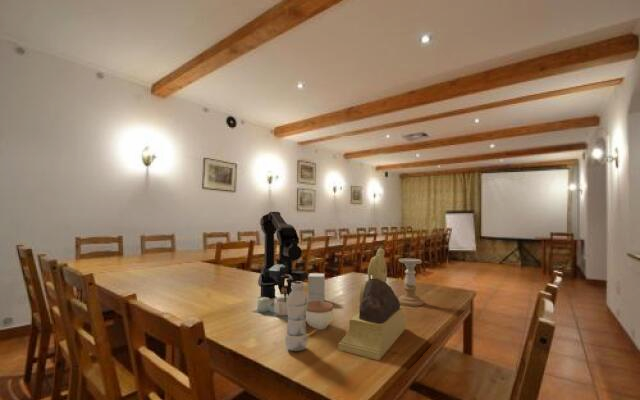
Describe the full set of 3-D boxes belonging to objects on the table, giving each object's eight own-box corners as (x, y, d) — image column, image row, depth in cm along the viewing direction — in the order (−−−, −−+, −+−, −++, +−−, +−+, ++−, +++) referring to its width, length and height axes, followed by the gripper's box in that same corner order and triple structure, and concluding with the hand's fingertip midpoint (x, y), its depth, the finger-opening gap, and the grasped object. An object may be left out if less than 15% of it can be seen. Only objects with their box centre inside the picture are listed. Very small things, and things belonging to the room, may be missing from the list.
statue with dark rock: (371, 322, 117) (372, 244, 118) (405, 329, 110) (405, 246, 112) (338, 350, 93) (339, 250, 94) (378, 360, 86) (379, 254, 87)
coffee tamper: (275, 309, 124) (275, 286, 125) (283, 305, 129) (284, 283, 130) (286, 311, 121) (286, 288, 122) (294, 308, 126) (295, 285, 127)
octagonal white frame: (268, 314, 123) (268, 301, 123) (282, 307, 131) (283, 296, 131) (284, 317, 118) (285, 304, 119) (299, 311, 127) (299, 299, 127)
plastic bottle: (285, 345, 95) (286, 280, 96) (306, 344, 96) (307, 280, 97) (284, 354, 89) (286, 285, 90) (307, 354, 89) (308, 285, 90)
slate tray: (251, 313, 125) (251, 311, 125) (275, 303, 139) (275, 302, 139) (295, 323, 114) (295, 321, 114) (316, 311, 128) (316, 310, 128)
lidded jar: (311, 334, 104) (312, 306, 105) (299, 324, 114) (299, 298, 114) (338, 329, 109) (338, 302, 110) (324, 319, 119) (324, 295, 119)
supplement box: (324, 299, 147) (325, 273, 147) (323, 304, 139) (323, 276, 140) (309, 299, 147) (310, 272, 148) (307, 303, 140) (308, 275, 141)
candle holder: (427, 306, 138) (427, 261, 139) (400, 306, 138) (400, 261, 139) (419, 299, 150) (419, 258, 151) (394, 298, 150) (394, 257, 151)
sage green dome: (254, 311, 126) (255, 299, 126) (262, 308, 130) (263, 296, 130) (264, 313, 123) (264, 301, 123) (271, 310, 127) (272, 298, 128)
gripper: (255, 257, 124) (254, 296, 123) (293, 261, 115) (292, 303, 114) (273, 254, 134) (272, 290, 133) (308, 257, 124) (308, 296, 124)
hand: (285, 294), depth 126 cm, fingers closed on coffee tamper, 3 cm apart
